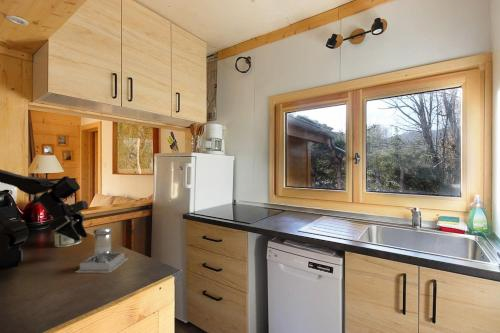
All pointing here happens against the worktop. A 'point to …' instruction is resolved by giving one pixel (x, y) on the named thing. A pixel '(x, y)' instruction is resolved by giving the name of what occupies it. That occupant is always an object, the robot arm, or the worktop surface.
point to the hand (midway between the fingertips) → (82, 238)
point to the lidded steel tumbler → (103, 244)
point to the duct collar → (101, 264)
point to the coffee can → (65, 240)
